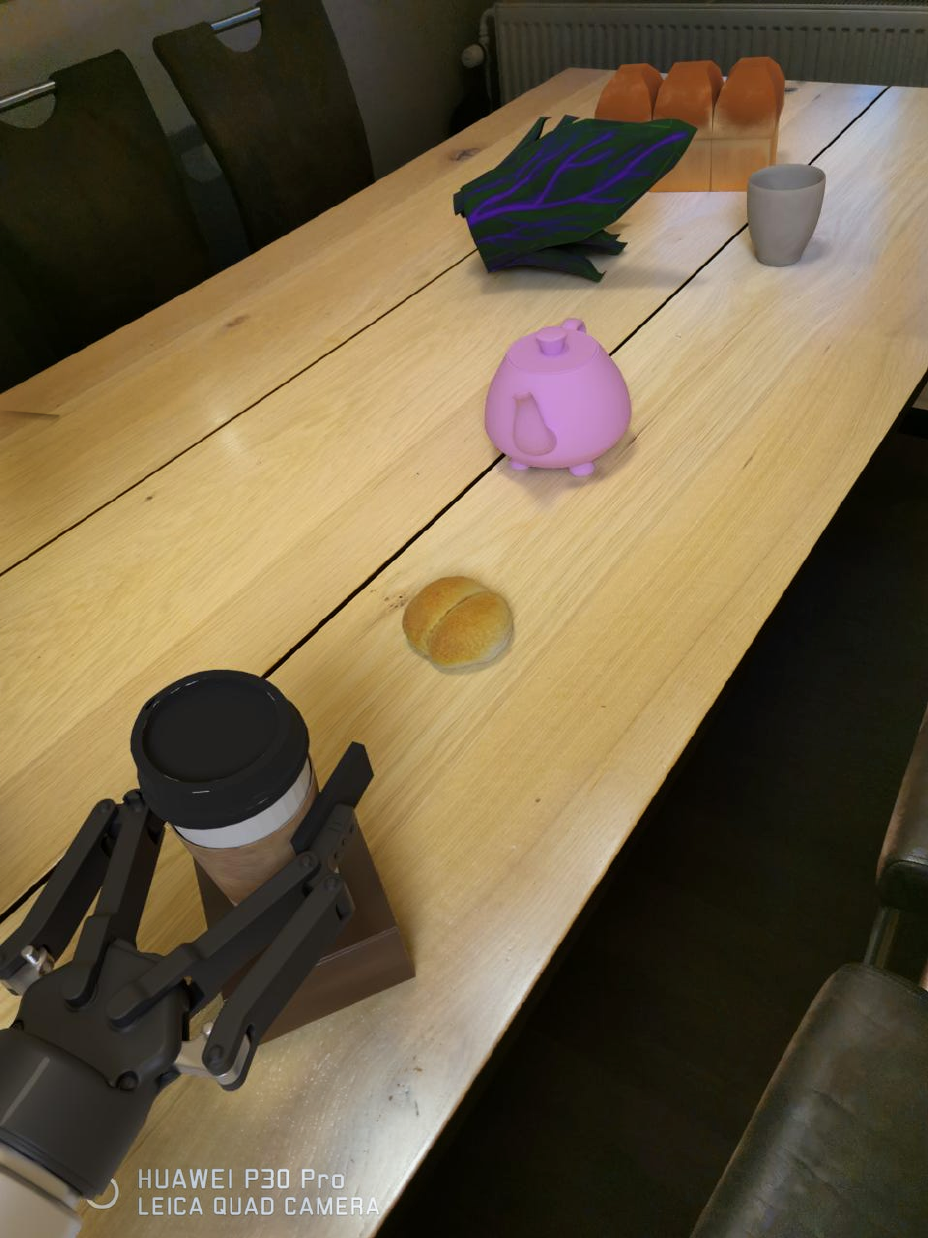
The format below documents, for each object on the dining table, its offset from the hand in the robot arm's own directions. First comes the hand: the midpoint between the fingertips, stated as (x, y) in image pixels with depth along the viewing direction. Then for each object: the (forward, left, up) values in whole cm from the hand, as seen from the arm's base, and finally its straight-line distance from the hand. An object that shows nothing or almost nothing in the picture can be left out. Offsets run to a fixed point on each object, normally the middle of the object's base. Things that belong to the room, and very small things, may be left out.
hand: (297, 740), depth 53 cm
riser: (+3, -3, -14) cm, 15 cm away
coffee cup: (+3, -3, -8) cm, 9 cm away
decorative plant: (-75, +54, -14) cm, 93 cm away
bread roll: (-18, +15, -14) cm, 27 cm away
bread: (-92, +81, -14) cm, 123 cm away
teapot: (-37, +33, -14) cm, 51 cm away
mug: (-62, +76, -14) cm, 99 cm away
